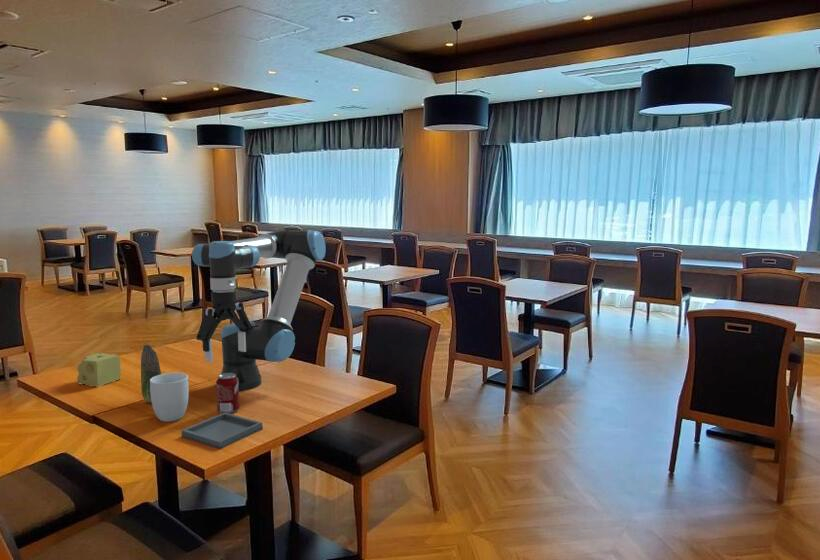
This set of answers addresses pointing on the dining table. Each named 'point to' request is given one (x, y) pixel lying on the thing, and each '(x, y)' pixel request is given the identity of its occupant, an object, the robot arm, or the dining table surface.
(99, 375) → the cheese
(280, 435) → the dining table surface
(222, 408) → the soda can
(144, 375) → the vegetable
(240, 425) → the tray
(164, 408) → the mug
